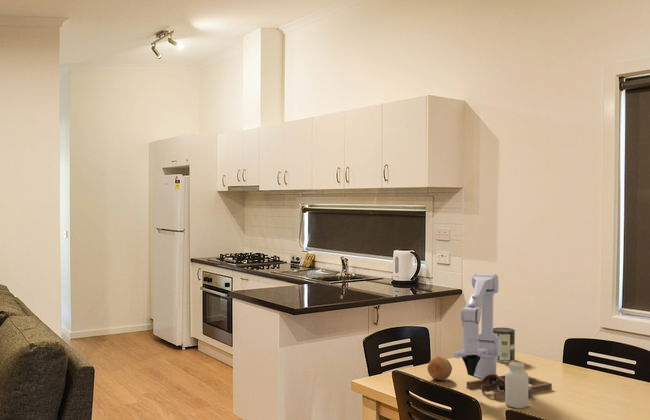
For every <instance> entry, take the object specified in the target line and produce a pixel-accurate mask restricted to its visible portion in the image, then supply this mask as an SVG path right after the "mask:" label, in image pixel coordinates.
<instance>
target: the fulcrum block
mask: <svg viewBox="0 0 650 420" xmlns="http://www.w3.org/2000/svg"><path fill="white" fill-rule="evenodd" d="M531 398H532V394H531V387H528V399H531Z"/></svg>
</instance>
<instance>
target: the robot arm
mask: <svg viewBox="0 0 650 420" xmlns="http://www.w3.org/2000/svg"><path fill="white" fill-rule="evenodd" d="M471 286H472V288H473V293H472V294H470V296H469V297H468V299H467V303H466V304H465V307H464V306H463V307H462V309H461V313H460V320H461V326H462V331H463V332H462V349H461V350H458V351H453V358H455V359H460V358H461V360H462V361H463V363H464V365H465V368H466V369H465V370H466V372H467V375H468V376H470V377H472V376H474V377H475V378H478V379H483V378H484V377H485V376H487V375H489V374H496V375H497V361H496V357H497V356H499V355H500V350H501V346H500V339H499V337H498V336H497V335H496V334H494V333H493V328H494V296H495V294H497V293H499V276H498V275H497V273H494V274H493V273H476V272H474V273H473V274H472V276H471ZM480 322H481V331H480V330H479V329H480V328H479V325H480Z"/></svg>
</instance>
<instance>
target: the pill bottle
mask: <svg viewBox="0 0 650 420" xmlns="http://www.w3.org/2000/svg"><path fill="white" fill-rule="evenodd" d="M528 376H529V374H528V372H527V371H526V370H525V364H524V362H520V361H514V362H508V370H506V371H505V399H504V403H505V405H506V406H508V407H510V408H513V407H514V408H513V409H525V408H527V407H528V406H529V398H528V386H529V383H528Z"/></svg>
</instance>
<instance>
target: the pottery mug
mask: <svg viewBox="0 0 650 420" xmlns="http://www.w3.org/2000/svg"><path fill="white" fill-rule="evenodd" d="M499 376H500V375H498V374H497V373H496V374H489V375H487V376H485V377H484V378H483V379H482V381H481V382H482V387H480V389H481V393H482V394H484V393H485V392H486V393H490V392H493V391H496V392H500V391H505V381H504V380H503V379H502V378H501V377H499ZM488 379H489V382H490V385H485V384H484V382H485V381H486V380H488Z"/></svg>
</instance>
